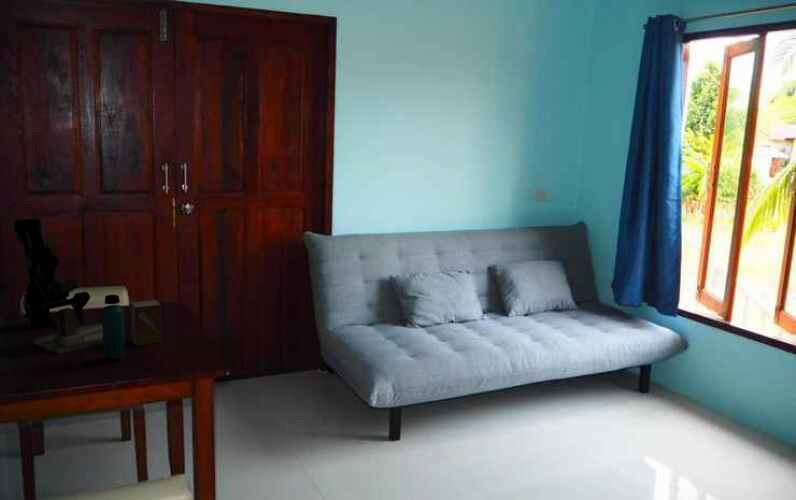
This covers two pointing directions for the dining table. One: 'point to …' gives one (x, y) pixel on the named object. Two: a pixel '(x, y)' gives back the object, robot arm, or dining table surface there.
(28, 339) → the dining table surface
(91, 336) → the board
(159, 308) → the small box
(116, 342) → the beverage bottle
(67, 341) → the block
